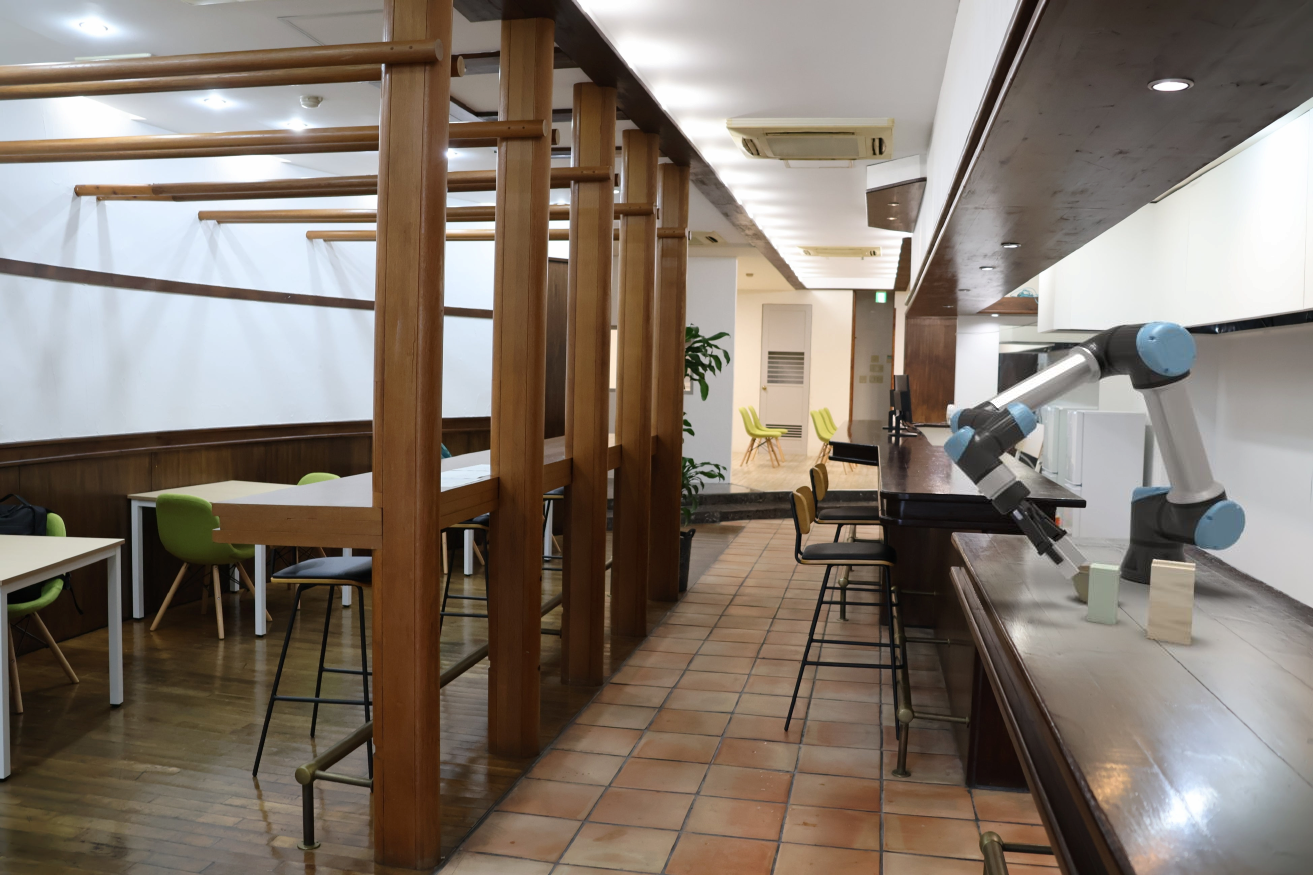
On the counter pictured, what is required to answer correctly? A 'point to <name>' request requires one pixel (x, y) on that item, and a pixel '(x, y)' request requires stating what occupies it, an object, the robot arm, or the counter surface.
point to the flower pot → (1083, 582)
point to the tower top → (1172, 583)
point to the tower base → (1170, 623)
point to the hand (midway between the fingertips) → (1078, 569)
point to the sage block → (1103, 593)
